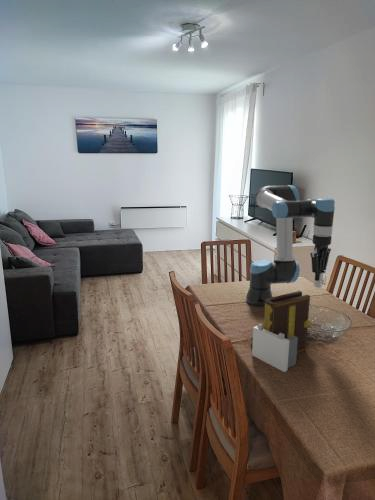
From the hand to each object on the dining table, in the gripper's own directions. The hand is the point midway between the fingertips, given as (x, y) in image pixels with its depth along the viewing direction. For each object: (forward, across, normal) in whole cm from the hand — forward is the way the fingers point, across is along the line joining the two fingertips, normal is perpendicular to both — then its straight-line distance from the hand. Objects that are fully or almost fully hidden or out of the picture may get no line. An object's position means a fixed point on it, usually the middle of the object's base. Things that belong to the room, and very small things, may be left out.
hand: (317, 286), depth 162 cm
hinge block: (+24, +25, -13) cm, 37 cm away
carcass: (+24, +30, 0) cm, 39 cm away
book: (+24, +21, 0) cm, 32 cm away
